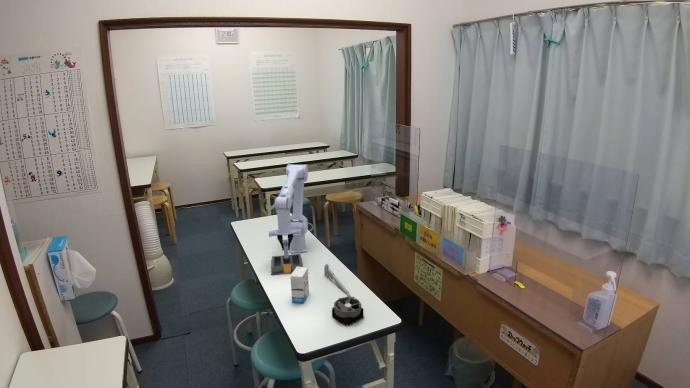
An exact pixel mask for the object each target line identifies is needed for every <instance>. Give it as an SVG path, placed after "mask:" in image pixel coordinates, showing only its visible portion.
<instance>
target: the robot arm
mask: <svg viewBox="0 0 690 388" xmlns="http://www.w3.org/2000/svg"><path fill="white" fill-rule="evenodd" d="M285 172H286V173H285V175H286V182H285V184H283V185H282V187H281V190H280V192H279V195H278V196H277V197H275V199H274V208H275V213H276V217H277V226H278V227H277V228H278V229H276V230H270V231H268V237H269V238H271V237H276V240H278V242H279V244H280V246H281V250H282V251H283V252H284V245H283V240H284V237H285V236H287V240H288V251H290V253H291V254H296V253H297V254H299V253H306V252H308V251H307V246H306V245H307V244H306V235H305V234H307V233H308V231H309V229H308V228H309V225H308V224H309V223H308V218H307V217H306V216H305V215H303V211H304V210H303V205H304V204H303V203H304V187H305V183H306V182H307V181H308V177H309V167H308V165H307V164H290V163H288V164H287V165H286V167H285ZM292 204H293V205H292ZM292 206H293V207H292ZM291 208H292V214H291Z"/></svg>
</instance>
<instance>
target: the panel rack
mask: <svg viewBox="0 0 690 388" xmlns="http://www.w3.org/2000/svg"><path fill="white" fill-rule="evenodd" d="M302 259H303V258H302V257H301V253H297V254H296V253H293V254H289V258H286V259H284V254H282V255H272V256H271V261H270V262H271V263H270V267H271V269H270V271H271V272H270V275H271V276H278V275H280V276H281V275H288V274H290V275H291V274H292V273H293V271H294V270H295V269H296V267H304V265H303V260H302Z"/></svg>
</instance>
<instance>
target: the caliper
mask: <svg viewBox="0 0 690 388" xmlns="http://www.w3.org/2000/svg"><path fill="white" fill-rule="evenodd" d="M323 272H324V274H323V275H324V276H326V278H330V279H331V280H333V281H334V282H335V283H336V285H337V286H338V287H339V289H341V291H342V292H343V294H345V295H346V296H351V294H350V291H349V290H348V289H347V288H346V287H345V285H343V283H342V282H341V281H340V280H339V278H338V277H337V276H336V275H335V273H334V271H333V270H332V269H331V268H330V265H329V263H326V264H325V265H324V270H323Z"/></svg>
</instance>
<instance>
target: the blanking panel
mask: <svg viewBox="0 0 690 388" xmlns="http://www.w3.org/2000/svg"><path fill="white" fill-rule="evenodd" d="M283 245H284V251H283V255H284V259H286V258H289V255H290V254H289V250H288V239H283Z"/></svg>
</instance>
